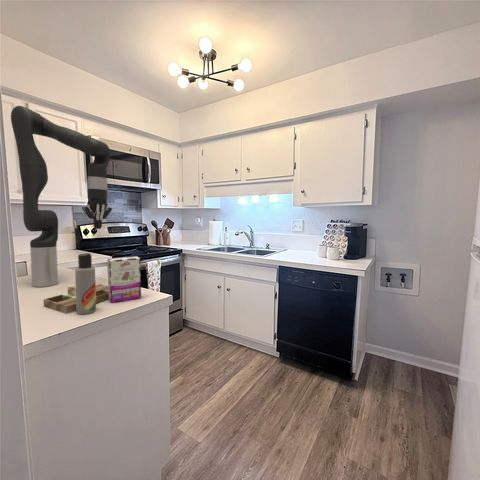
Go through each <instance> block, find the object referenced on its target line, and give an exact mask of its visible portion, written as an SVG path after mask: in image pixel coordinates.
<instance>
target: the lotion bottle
mask: <svg viewBox="0 0 480 480" xmlns="http://www.w3.org/2000/svg"><path fill="white" fill-rule="evenodd" d="M92 256H93V255H92V254H91V252H90V253H89V252H87V253H80V254H78V256H77V262H78V267H76V268H74V269H75V271H74V275H75V284H76V309H77V310H76V313H77V314H78V315H89V314H90V315H91V314H92V313H94V312H95V311H96V310H97V304H96V287H95V286H96V267H95V266H93V265H92V261H93V259H92Z"/></svg>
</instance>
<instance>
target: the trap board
mask: <svg viewBox="0 0 480 480" xmlns="http://www.w3.org/2000/svg"><path fill="white" fill-rule="evenodd" d="M95 287H96V305H97V304H100V303H103V302H105V301H109V289H108V285H105V284H101V283H100V284H95ZM43 307H45V308H48V309H50V310H51V309H52V310H55V311H58V312H61V313H64V314H69V313H70V314H71V313H73V312H75V311H76V312H77V309H76V296H74V295H70V294H68V292H67V293H63V294H59V295H54V296H51V297H48V298H44V299H43Z"/></svg>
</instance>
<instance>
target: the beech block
mask: <svg viewBox="0 0 480 480" xmlns="http://www.w3.org/2000/svg"><path fill="white" fill-rule="evenodd" d="M66 287H67V289H66V290H67V293H68V294H70V295H74V296H76V283H75V284H71V285H67V286H66Z"/></svg>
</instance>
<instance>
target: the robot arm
mask: <svg viewBox="0 0 480 480" xmlns="http://www.w3.org/2000/svg"><path fill="white" fill-rule="evenodd" d="M10 121H11V122H10V123H11V126H12V127H11V128H12V130H13V135H14V139H15V143H16V144H15V145H16V150H17V156H18V166H19V167H18V168H19V173H20V174H19V175H20V181H21V188H22V207H23V208H22V214H23V215H22V217H23V219H22V220H23V224H24V227H25V229H26V230H27V231H29V232H34V233H35V232H41V234H40V235H39V236H38V237H36V238H33V239H31V240H30V242H29V244H30V247H29V249H30V270H31V271H30V272H31V275H30V276H31V285H32V287H34V288H35V287H36V288H44V287H45V288H46V287H52V286H55V285H57V284H59V276H58V275H59V271H58V253H57V251H58V248H57V247H58V246H57V243H58V239H59V218H58V215H57V213H56V212H55V211H54V210H49V209H39V197H40V195H41V193H42V191H43V190H44V188H45V187H46V186H47V184H48V181H49V176H48V168H47V167H48V166H47V162H46V160H45V159H44V156H43V155H42V154H41V151H40V150H39V148H38V147H37V145H36V142H35V139H34V135H37V136H41V137H45V138H46V137H47V138H50V139H53V140H55V141H57V142H58V143H60V144H63V145H65V146H67V147H70V148H72V149H74V150H78V151H80V152H82V153H84V154H86V155H88V156H91V157H93V162H90V163H88V165H87V180H86V185H87V186H86V188H87V189H86V190H87V193H86V194H87V202H86V205H85V206H82V207H81V209H82V211H83V212H84V213H85V215H86V216H87V218H89V220H90V219H92V220H93V228H94V229H95V230H100V229H102V227H103V220H106V219H107V217H108V216H109V215H110V213H111V212H112V210H113V208H112V207H110V206H109V205H108V202H107V201H108V180H107V179H108V178H107V176H108V175H107V168H108V165H109V162H110V157H111V150H110V147H109V145H108V144H107V143H106V142H103V141H101V140H98V139H97V138H94V137H92V136H91V137H90V136H88V135H85V134H83V133H81V132H79V131H76V130H74V129H71V128H69V127H65V126H61V125H59V124H56V123H54V122H52V121H51V120H49V119H47V118H46V117H44V116H43V115H41V114H40V113H38V112H36V111H34V110H33V109H30V108H28V107H26V106H23V105H16V106H15V107H13V108H12V110H11V113H10Z"/></svg>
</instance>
